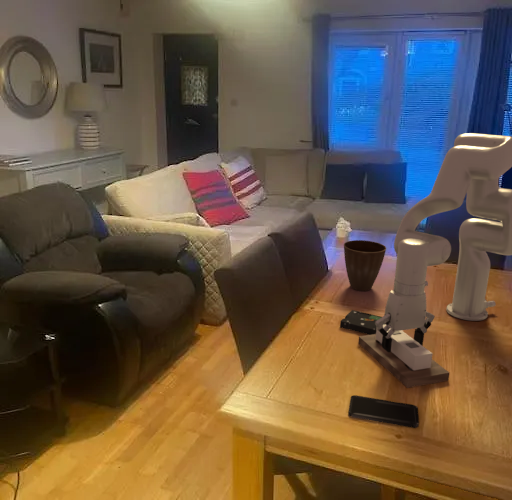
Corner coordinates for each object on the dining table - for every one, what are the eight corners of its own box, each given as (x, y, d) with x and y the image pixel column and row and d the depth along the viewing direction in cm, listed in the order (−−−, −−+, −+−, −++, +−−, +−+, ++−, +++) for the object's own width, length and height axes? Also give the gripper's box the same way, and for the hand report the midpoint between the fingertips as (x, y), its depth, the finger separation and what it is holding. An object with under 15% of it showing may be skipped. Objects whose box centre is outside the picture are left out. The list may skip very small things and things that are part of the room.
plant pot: (387, 285, 191) (391, 244, 187) (373, 298, 179) (377, 254, 175) (350, 277, 199) (353, 237, 194) (334, 289, 187) (337, 247, 182)
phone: (419, 425, 110) (348, 413, 113) (418, 430, 110) (347, 417, 114) (417, 405, 117) (351, 394, 121) (417, 409, 117) (350, 398, 121)
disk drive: (339, 329, 157) (387, 341, 150) (339, 321, 156) (388, 332, 149) (351, 317, 165) (397, 327, 158) (351, 309, 164) (397, 319, 157)
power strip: (390, 344, 147) (392, 322, 145) (429, 376, 130) (432, 352, 128) (374, 346, 145) (376, 324, 143) (412, 379, 129) (415, 355, 127)
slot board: (358, 343, 147) (358, 336, 146) (394, 338, 150) (395, 331, 150) (407, 387, 125) (408, 379, 124) (448, 380, 129) (449, 372, 128)
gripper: (428, 278, 138) (421, 336, 143) (371, 285, 132) (366, 345, 137) (446, 288, 131) (438, 349, 136) (387, 296, 126) (381, 358, 131)
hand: (402, 347), depth 137 cm, fingers open, 9 cm apart
